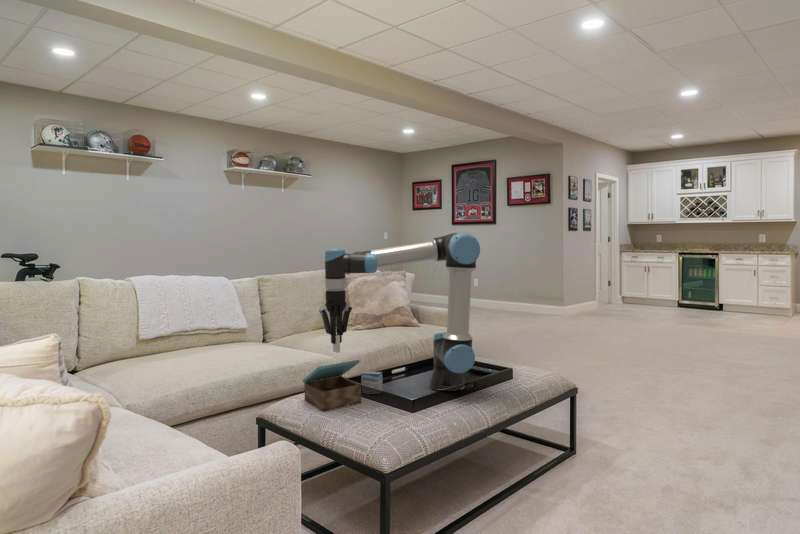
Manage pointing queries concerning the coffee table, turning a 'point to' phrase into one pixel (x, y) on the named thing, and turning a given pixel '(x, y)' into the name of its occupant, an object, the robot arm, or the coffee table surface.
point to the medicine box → (372, 379)
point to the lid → (330, 371)
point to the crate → (332, 393)
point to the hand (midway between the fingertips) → (336, 351)
